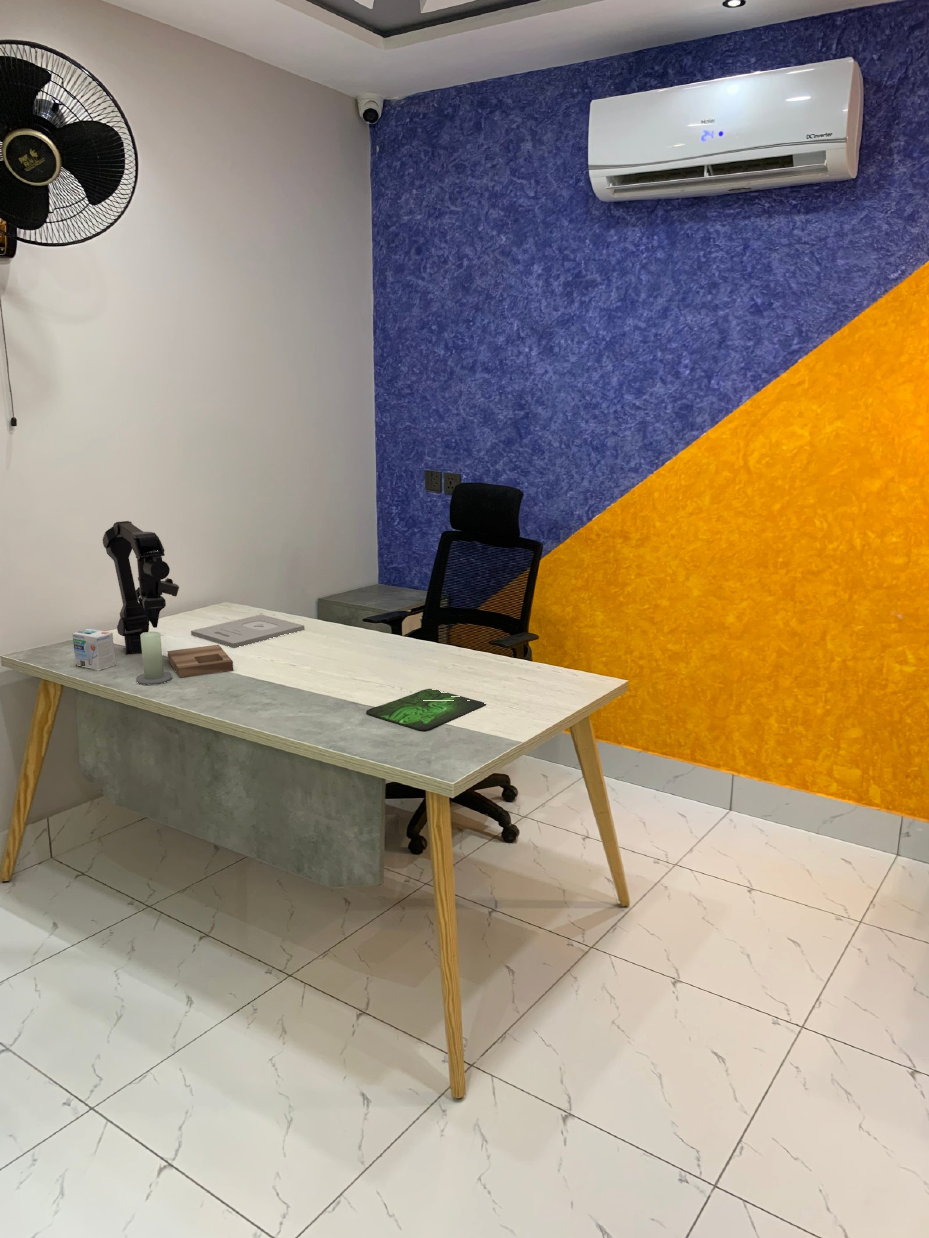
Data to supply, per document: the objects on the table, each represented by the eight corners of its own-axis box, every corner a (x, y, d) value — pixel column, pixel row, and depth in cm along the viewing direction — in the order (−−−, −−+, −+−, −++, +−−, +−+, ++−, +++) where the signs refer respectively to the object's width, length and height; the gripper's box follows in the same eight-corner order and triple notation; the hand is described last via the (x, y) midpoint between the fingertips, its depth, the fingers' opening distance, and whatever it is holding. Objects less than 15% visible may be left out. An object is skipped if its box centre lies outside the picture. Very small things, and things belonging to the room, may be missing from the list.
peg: (148, 673, 273) (144, 631, 269) (166, 673, 272) (163, 631, 269) (141, 679, 267) (137, 636, 264) (159, 679, 267) (155, 636, 264)
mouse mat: (429, 688, 263) (429, 685, 263) (490, 704, 250) (490, 701, 250) (362, 715, 243) (362, 711, 242) (424, 734, 229) (424, 730, 229)
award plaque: (191, 636, 318) (190, 630, 317) (261, 619, 340) (261, 614, 339) (234, 649, 302) (233, 643, 301) (304, 631, 324) (304, 625, 323)
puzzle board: (168, 660, 289) (167, 651, 288) (219, 653, 296) (218, 644, 295) (179, 677, 272) (178, 668, 271) (233, 670, 279) (232, 661, 278)
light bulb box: (75, 666, 283) (71, 632, 280) (92, 660, 289) (89, 627, 286) (99, 671, 278) (95, 637, 275) (116, 665, 284) (113, 632, 281)
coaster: (134, 677, 272) (133, 674, 272) (168, 672, 277) (168, 669, 276) (138, 687, 264) (138, 684, 263) (174, 682, 268) (174, 679, 268)
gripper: (181, 577, 273) (185, 628, 277) (170, 566, 289) (174, 614, 293) (142, 581, 268) (146, 632, 272) (133, 569, 284) (138, 618, 288)
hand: (152, 624), depth 282 cm, fingers open, 9 cm apart
